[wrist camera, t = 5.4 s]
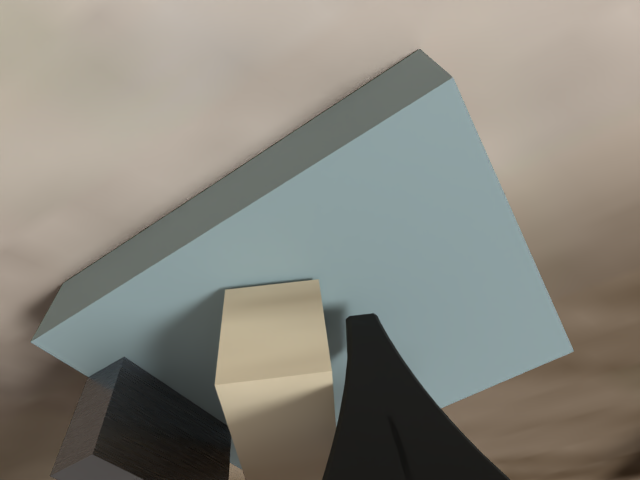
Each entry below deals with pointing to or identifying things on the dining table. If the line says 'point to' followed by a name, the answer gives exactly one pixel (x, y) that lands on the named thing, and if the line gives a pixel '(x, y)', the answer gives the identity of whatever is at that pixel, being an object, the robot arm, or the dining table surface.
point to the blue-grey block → (306, 278)
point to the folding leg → (277, 380)
